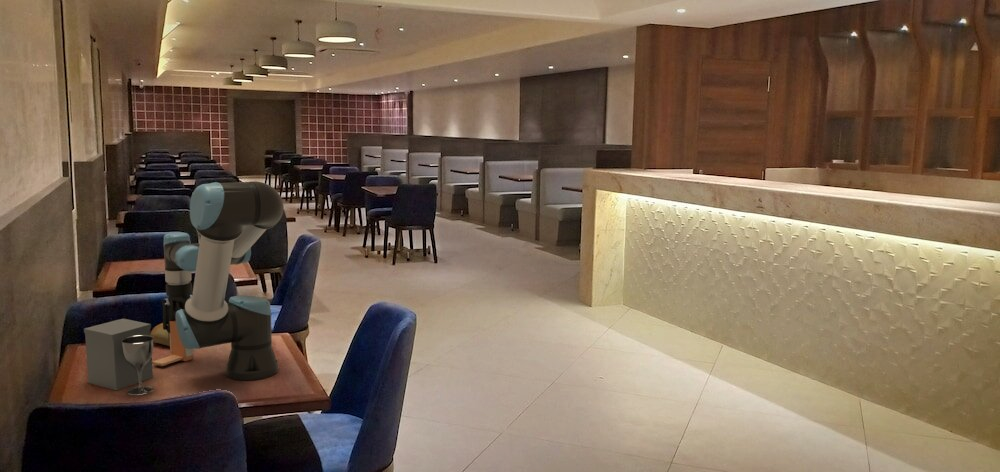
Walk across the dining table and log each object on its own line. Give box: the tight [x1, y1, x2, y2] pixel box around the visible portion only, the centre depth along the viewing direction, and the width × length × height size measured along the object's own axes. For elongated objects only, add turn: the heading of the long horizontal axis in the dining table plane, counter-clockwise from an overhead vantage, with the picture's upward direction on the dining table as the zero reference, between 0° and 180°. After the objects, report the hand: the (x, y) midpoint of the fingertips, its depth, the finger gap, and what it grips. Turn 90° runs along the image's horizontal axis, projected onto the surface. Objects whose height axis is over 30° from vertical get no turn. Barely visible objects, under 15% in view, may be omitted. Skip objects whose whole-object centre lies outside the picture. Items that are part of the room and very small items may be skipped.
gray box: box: [83, 318, 154, 391], centre depth 221 cm, size 12×13×16 cm
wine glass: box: [122, 335, 155, 396], centre depth 213 cm, size 8×8×15 cm
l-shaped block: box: [152, 320, 194, 367], centre depth 237 cm, size 6×11×12 cm, turn 153°
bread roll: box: [150, 322, 170, 347], centre depth 256 cm, size 10×15×8 cm, turn 69°
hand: (182, 353), depth 241 cm, fingers closed on l-shaped block, 6 cm apart
